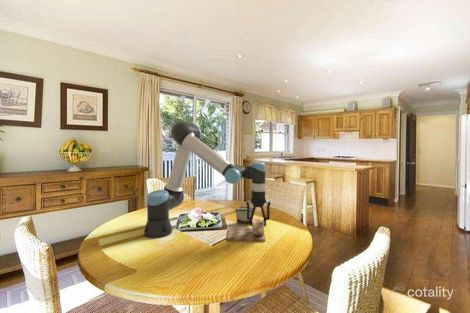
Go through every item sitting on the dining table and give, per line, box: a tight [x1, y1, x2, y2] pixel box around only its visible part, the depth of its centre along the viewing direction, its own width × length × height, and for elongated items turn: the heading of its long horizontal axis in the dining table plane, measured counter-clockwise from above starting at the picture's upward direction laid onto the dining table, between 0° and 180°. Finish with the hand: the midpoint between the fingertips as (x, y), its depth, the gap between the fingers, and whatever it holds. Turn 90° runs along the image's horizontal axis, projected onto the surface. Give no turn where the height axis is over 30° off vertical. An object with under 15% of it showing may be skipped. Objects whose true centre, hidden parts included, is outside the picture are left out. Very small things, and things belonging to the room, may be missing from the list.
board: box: [226, 226, 266, 243], centre depth 133 cm, size 20×16×1 cm
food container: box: [234, 205, 253, 226], centre depth 153 cm, size 12×6×10 cm, turn 84°
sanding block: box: [253, 218, 263, 236], centre depth 132 cm, size 5×9×6 cm, turn 178°
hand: (257, 231), depth 133 cm, fingers closed on sanding block, 5 cm apart
